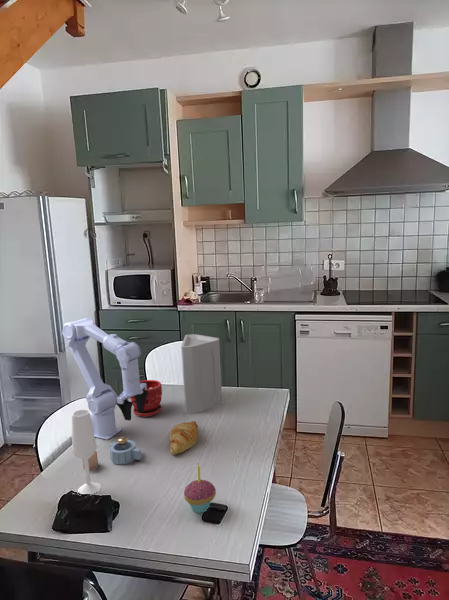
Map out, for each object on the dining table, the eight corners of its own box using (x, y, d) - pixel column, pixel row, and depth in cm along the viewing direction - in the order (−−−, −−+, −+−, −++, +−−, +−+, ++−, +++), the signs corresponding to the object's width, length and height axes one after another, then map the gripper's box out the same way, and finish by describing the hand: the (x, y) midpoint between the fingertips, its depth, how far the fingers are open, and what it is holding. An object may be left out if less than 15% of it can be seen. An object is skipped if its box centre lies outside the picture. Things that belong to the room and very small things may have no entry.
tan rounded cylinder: (80, 469, 140) (79, 457, 139) (89, 461, 145) (87, 449, 144) (93, 471, 139) (91, 458, 138) (101, 463, 143) (99, 451, 142)
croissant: (181, 468, 144) (191, 449, 142) (155, 452, 146) (164, 434, 144) (201, 436, 165) (209, 419, 162) (178, 422, 166) (186, 406, 164)
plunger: (113, 458, 145) (112, 440, 144) (122, 451, 149) (120, 434, 148) (125, 460, 143) (123, 443, 142) (133, 453, 147) (132, 436, 146)
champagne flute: (88, 498, 125) (79, 419, 121) (72, 491, 128) (63, 415, 124) (105, 486, 131) (97, 410, 126) (90, 480, 134) (82, 406, 130)
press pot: (104, 461, 144) (103, 449, 144) (120, 449, 152) (119, 438, 151) (133, 467, 140) (131, 455, 139) (147, 455, 147) (146, 443, 146)
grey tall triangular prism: (222, 412, 177) (218, 345, 172) (185, 414, 177) (180, 347, 172) (222, 394, 196) (219, 333, 191) (189, 395, 196) (185, 334, 191)
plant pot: (169, 409, 183) (167, 381, 181) (148, 421, 172) (146, 392, 170) (146, 403, 190) (144, 376, 188) (124, 415, 179) (121, 387, 177)
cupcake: (185, 499, 123) (182, 459, 120) (215, 496, 123) (213, 456, 121) (185, 519, 114) (182, 477, 112) (217, 516, 115) (215, 474, 113)
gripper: (127, 387, 143) (131, 425, 146) (152, 372, 156) (155, 408, 159) (110, 384, 146) (114, 422, 149) (136, 370, 159) (139, 405, 162)
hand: (134, 415), depth 154 cm, fingers open, 7 cm apart
